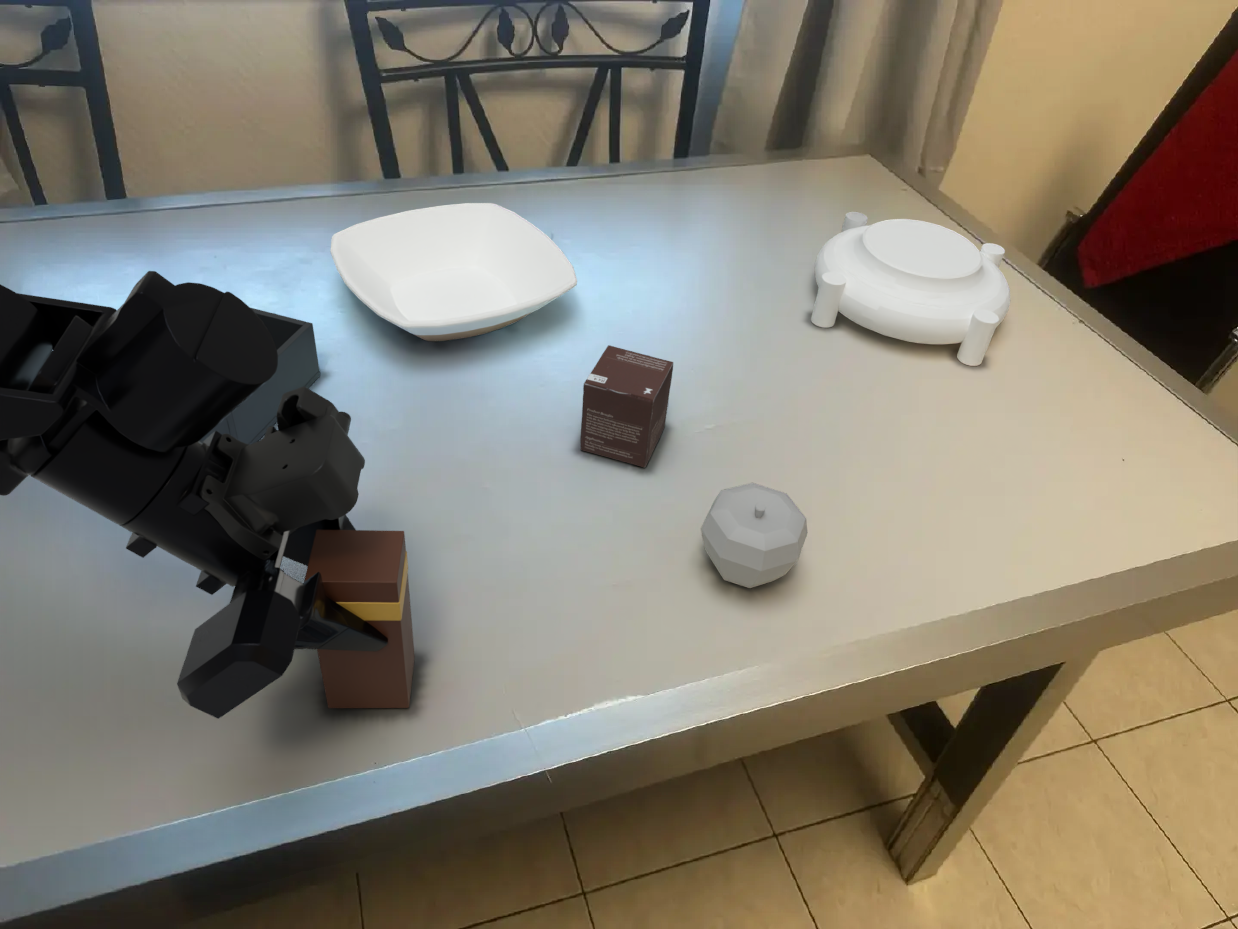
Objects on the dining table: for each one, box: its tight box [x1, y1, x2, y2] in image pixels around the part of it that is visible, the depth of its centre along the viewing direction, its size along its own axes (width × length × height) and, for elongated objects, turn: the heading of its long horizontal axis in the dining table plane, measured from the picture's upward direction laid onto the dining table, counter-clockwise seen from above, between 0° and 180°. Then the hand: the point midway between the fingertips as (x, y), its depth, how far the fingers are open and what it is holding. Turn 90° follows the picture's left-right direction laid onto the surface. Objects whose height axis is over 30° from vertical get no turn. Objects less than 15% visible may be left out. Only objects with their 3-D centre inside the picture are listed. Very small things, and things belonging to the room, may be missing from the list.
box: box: [579, 344, 674, 468], centre depth 80 cm, size 6×6×7 cm
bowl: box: [329, 202, 578, 342], centre depth 95 cm, size 22×22×5 cm
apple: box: [700, 482, 808, 589], centre depth 70 cm, size 8×8×7 cm
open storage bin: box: [200, 307, 321, 445], centre depth 80 cm, size 12×12×6 cm
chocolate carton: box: [303, 529, 416, 709], centre depth 58 cm, size 5×4×12 cm
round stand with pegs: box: [810, 211, 1012, 367], centre depth 102 cm, size 24×24×7 cm
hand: (387, 617), depth 57 cm, fingers closed on chocolate carton, 4 cm apart
